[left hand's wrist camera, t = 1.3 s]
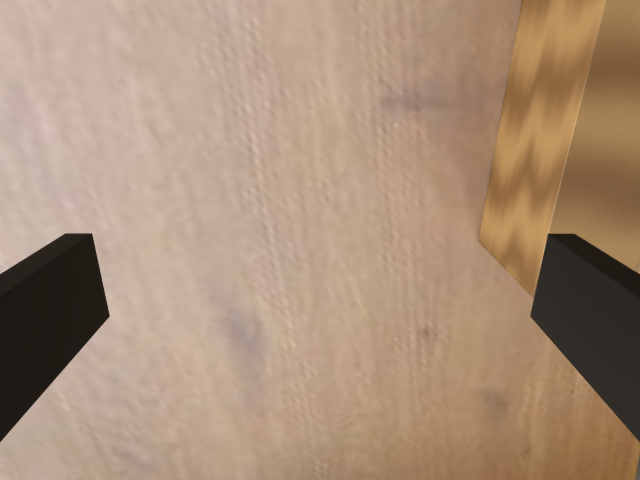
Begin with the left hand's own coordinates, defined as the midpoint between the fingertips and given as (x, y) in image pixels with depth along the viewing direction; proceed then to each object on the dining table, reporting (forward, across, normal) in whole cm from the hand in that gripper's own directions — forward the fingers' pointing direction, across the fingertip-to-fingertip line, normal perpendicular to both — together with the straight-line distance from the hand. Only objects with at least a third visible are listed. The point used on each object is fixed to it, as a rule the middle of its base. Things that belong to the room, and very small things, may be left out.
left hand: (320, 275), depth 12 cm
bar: (+20, -16, -5) cm, 26 cm away
